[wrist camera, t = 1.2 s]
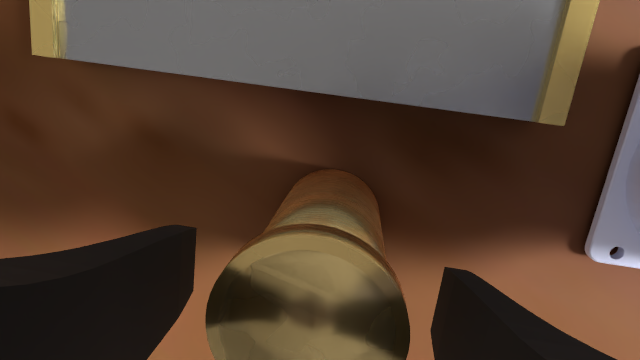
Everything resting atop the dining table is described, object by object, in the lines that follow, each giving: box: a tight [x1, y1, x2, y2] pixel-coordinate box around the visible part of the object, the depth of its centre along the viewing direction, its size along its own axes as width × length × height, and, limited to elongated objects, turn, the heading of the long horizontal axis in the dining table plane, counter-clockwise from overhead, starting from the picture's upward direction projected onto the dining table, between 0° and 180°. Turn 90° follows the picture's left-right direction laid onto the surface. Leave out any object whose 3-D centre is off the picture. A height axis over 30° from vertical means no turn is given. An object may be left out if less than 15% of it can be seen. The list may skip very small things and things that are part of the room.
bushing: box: [206, 169, 410, 360], centre depth 13 cm, size 5×5×8 cm
